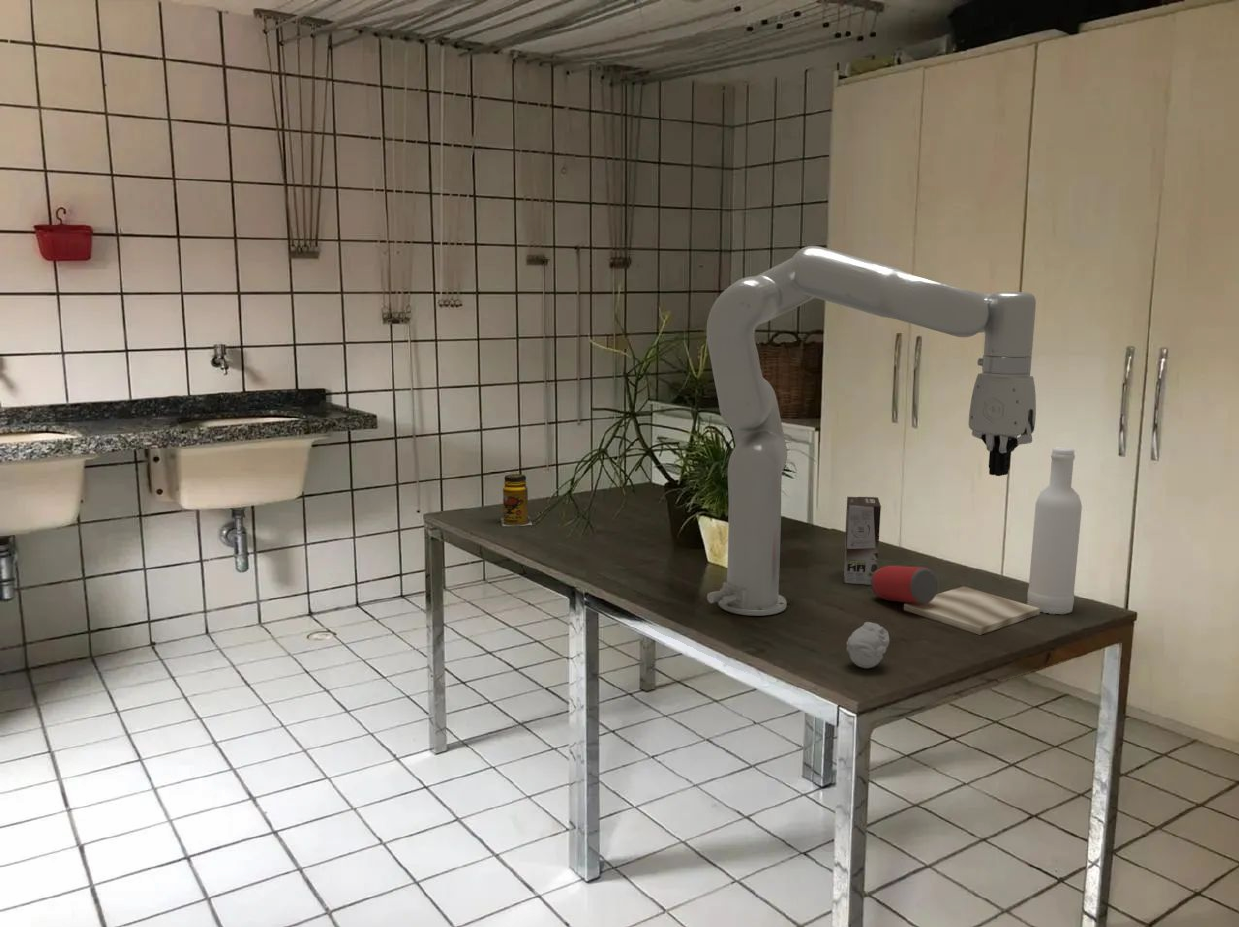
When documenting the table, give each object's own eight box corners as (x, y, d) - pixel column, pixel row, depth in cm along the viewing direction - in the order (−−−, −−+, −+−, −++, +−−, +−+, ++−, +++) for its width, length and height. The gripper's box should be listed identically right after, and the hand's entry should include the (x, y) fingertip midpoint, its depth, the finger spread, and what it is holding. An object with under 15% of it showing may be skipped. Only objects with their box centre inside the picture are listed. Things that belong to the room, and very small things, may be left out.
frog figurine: (896, 669, 156) (899, 626, 155) (863, 677, 152) (865, 634, 151) (869, 656, 161) (871, 614, 160) (835, 664, 158) (838, 622, 156)
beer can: (922, 611, 179) (879, 606, 190) (945, 589, 182) (901, 586, 193) (905, 582, 178) (862, 578, 189) (928, 560, 181) (884, 558, 191)
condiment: (502, 527, 243) (501, 478, 241) (500, 518, 252) (499, 472, 249) (532, 525, 245) (532, 477, 242) (529, 517, 253) (528, 471, 251)
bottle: (1028, 598, 190) (1041, 443, 185) (1073, 604, 187) (1088, 446, 181) (1025, 611, 183) (1038, 450, 178) (1072, 617, 180) (1087, 453, 174)
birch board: (980, 634, 171) (980, 628, 171) (903, 609, 184) (904, 603, 183) (1039, 614, 181) (1039, 608, 181) (963, 592, 194) (963, 586, 194)
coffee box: (877, 585, 198) (881, 506, 195) (844, 583, 199) (847, 504, 196) (875, 572, 207) (879, 496, 204) (843, 570, 208) (846, 495, 205)
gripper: (954, 364, 171) (947, 470, 174) (1035, 371, 159) (1026, 484, 162) (980, 362, 175) (973, 465, 178) (1061, 369, 163) (1051, 479, 167)
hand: (998, 474), depth 170 cm, fingers closed
